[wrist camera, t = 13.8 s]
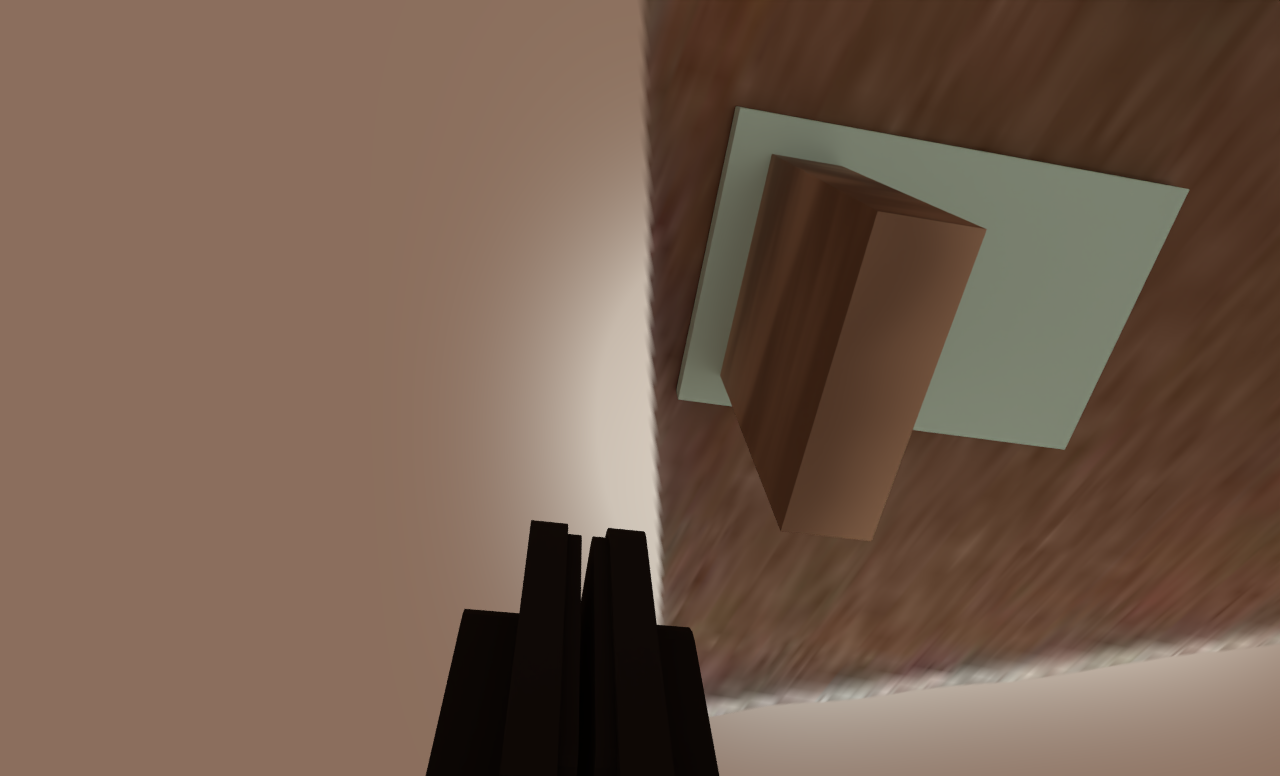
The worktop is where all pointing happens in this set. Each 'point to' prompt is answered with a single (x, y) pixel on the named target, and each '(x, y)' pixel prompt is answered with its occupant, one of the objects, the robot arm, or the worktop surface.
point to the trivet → (999, 281)
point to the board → (839, 338)
